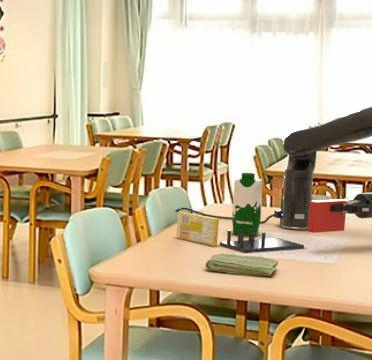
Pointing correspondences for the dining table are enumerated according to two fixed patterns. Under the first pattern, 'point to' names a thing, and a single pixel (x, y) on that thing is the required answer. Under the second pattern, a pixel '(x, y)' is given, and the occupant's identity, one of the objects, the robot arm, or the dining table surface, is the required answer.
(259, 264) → the washcloth
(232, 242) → the dish rack
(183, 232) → the candy box
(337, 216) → the red rectangular block
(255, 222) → the milk carton
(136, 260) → the dining table surface
